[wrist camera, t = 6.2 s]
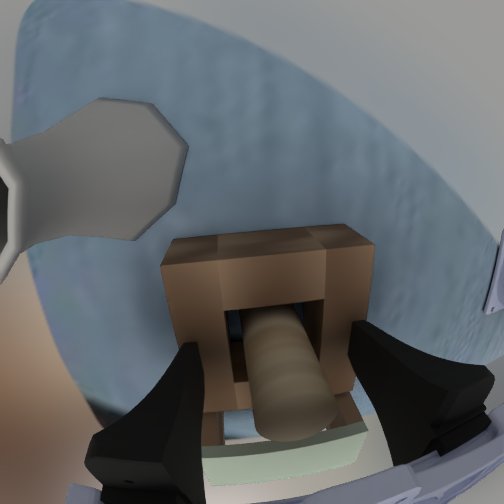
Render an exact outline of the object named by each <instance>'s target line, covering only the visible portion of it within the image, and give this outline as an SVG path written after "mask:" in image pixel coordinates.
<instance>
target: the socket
mask: <svg viewBox="0 0 504 504" xmlns="http://www.w3.org/2000/svg"><path fill="white" fill-rule="evenodd" d="M374 249H375V244H373V243H372V242H370V241H369V240H368V239H366V238H365V237H363V236H362V235H360V234H359V233H357V232H356V231H354V230H353V229H351V228H350V227H348V226H347V225H345V224H336V225H323V226H311V227H299V228H287V229H275V230H264V231H253V232H242V233H231V234H221V235H211V236H201V237H191V238H181V239H173V240H172V242H171V245H170V247H169V249H168V251H167V253H166V255H165V257H164V259H163V261H162V263H161V265H160V267H161V273H162V278H163V283H164V287H165V292H166V297H167V302H168V306H169V311H170V315H171V319H172V323H173V328H174V332H175V336H176V340H177V344H178V348H179V349H180V347H181V346H182V344H183V343H185V342H197V343H198V348H199V353H200V357H201V362H202V366H203V370H204V377H205V398H204V409H203V413H204V412H220V411H233V410H243V409H252V402H251V395H250V388H249V381H248V373H247V366H246V359H245V351H244V344H243V341H240V342H231V341H230V333H229V326H228V318H227V310H237V309H247V308H256V307H265V306H273V305H282V304H290V303H297V302H303V327H304V330H305V332H306V334H307V336H308V338H309V341H310V343H311V345H312V347H313V350H314V352H315V354H316V356H317V359H318V361H319V363H320V365H321V368H322V370H323V372H324V374H325V377H326V379H327V381H328V383H329V386H330V388H331V390H332V392H333V395H335V394H340V393H344V392H348V391H352V390H353V386H354V382H355V377H356V374H355V372H354V370H353V368H352V365H351V363H350V360H349V358H348V355H347V353H348V347H349V340H350V333H351V326H352V322H353V321H358V320H365V321H366V318H367V311H368V304H369V297H370V289H371V280H372V271H373V261H374Z"/></svg>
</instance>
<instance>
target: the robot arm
mask: <svg viewBox="0 0 504 504" xmlns="http://www.w3.org/2000/svg"><path fill="white" fill-rule="evenodd" d="M503 308H504V229H503V231H502V236H501V242H500V248H499V253H498V258H497V263H496V267H495V272H494V276H493V280H492V284H491V288H490V291H489V295H488V298H487V302H486V305H485V308H484V313H485V314H486V315H489V314H492V313H494V312H496V311H499V310H501V309H503ZM347 355H348V358H349V360H350V363H351V365H352V368H353V370H354V372H355V374H356V376H357V378H358V380H359V381H360V383H361V385H362V387H363V388H364V390H365V392H366V394H367V395H368V397H369V399H370V401H371V402H372V404H373V406H374V408H375V410H376V413H377V415H378V418H379V420H380V423H381V425H382V428H383V431H384V434H385V437H386V440H387V443H388V447H389V450H390V454H391V457H392V461H393V466H394V467H392V468H389V469H387V470H384V471H381V472H378V473H376V474H373V475H370V476H367V477H364V478H361V479H358V480H354V481H351V482H348V483H344V484H340V485H337V486H333V487H330V488H327V489H324V490H321V491H318V492H316V493H313V494H310V495H305V496H300V497H295V498H289V499H283V500H277V501H270V502H261V503H252V504H447V503H448V502H450V501H451V500H453V499H455V498H456V497H458V496H459V495H461V494H462V493H464V492H465V491H467V490H468V489H470V488H471V487H472V486H474V485H475V484H476V483H478V482H479V481H480V480H482V479H483V478H485V477H486V476H487V475H488V474H490V473H491V472H492V471H493V470H495V469H496V468H497V467H499V466H500V465H501V464H502V463H504V403H502V404H501V405H499V406H498V407H497V408H495V409H494V410H492V411H491V412H490V413H489V414H488V415H486V414H485V412H484V411H485V410H486V406H485V405H484V404H483V403H484V401H485V399H486V398H487V396H488V394H489V393H490V391H491V389H492V387H493V385H494V381H495V378H494V375H493V374H492V373H491V372H490V371H489V370H488V369H487V368H486V366H484V365H474V364H465V363H459V362H454V361H450V360H446V359H442V358H439V357H436V356H433V355H430V354H427V353H425V352H422V351H420V350H417V349H415V348H413V347H411V346H409V345H407V344H405V343H403V342H401V341H399V340H398V339H396V338H394V337H392V336H391V335H389V334H387V333H386V332H384V331H382V330H381V329H379V328H377V327H376V326H374V325H372V324H371V323H369V322H367V321H365V320H358V321H353V322H352V326H351V333H350V340H349V347H348V353H347ZM204 398H205V377H204V370H203V366H202V362H201V357H200V353H199V348H198V343H197V342H185V343H183V344H182V346H181V347H180V349H179V351H178V353H177V355H176V356H175V358H174V360H173V361H172V363H171V364H170V366H169V367H168V369H167V370H166V372H165V373H164V375H163V376H162V377H161V379H160V380H159V381H158V383H157V384H156V385H155V387H154V388H153V389H152V390H151V391H150V392H149V394H148V395H147V396H146V397H145V398H144V399H143V400H142V401H141V402H140V403H139V404H138V405H137V406H135V407H134V408H133V409H132V410H131V411H130V412H129V413H127V414H126V415H125V416H123V417H122V418H121V419H119V420H118V421H116V422H115V423H113V424H112V425H110V426H108V427H107V428H105V429H103V430H101V431H100V432H98V433H96V434H94V435H93V437H92V439H91V441H90V444H89V447H88V451H87V454H86V457H85V461H84V463H85V466H86V468H87V469H88V470H89V471H90V472H91V473H92V475H93V476H94V477H95V478H96V479H97V480H99V481H100V482H101V483H102V484H103V488H102V491H100V490H98V489H96V488H92V487H88V486H84V485H79V484H75V483H70V485H69V489H68V493H67V497H66V501H65V504H206V499H205V490H204V480H203V467H202V448H201V431H202V420H203V409H204Z"/></svg>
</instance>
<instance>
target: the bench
mask: <svg viewBox="0 0 504 504" xmlns="http://www.w3.org/2000/svg"><path fill="white" fill-rule="evenodd" d="M334 397H335V399H336V402H337V404H338V412H337V415H336V417H335V419H334V420H333V421H332V422H331V423H330V425H328V426H327V427H326V429H327V430H326V431H321V432H319V433H317V434H315V435H313V436H310V437H308V438H305V439H301V440H296V441H289V442H279V441H273V440H271V441H263V442H255V443H246V444H235V445H225V435H224V416H223V411H220V412H204V413H203V420H202V431H201V448H202V467H203V470H204V472H205V473H206V476H207V478H208V480H209V482H210V484H211V486H222V485H238V484H250V483H259V482H266V481H274V480H281V479H287V478H293V477H299V476H304V475H309V474H313V473H318V472H322V471H326V470H331V469H334V468H338V467H342V466H346V465H349V464H352V463H355V461H356V459H357V457H358V455H359V452H360V450H361V448H362V445H363V443H364V441H365V438H366V436H367V433H368V429H367V427H366V425H365V423H364V421H363V419H362V416H361V414H360V412H359V410H358V408H357V406H356V404H355V402H354V400H353V398H352V396H351V394H350V392H349V391H348V392H344V393H340V394H335V395H334Z"/></svg>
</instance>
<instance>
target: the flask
mask: <svg viewBox="0 0 504 504" xmlns="http://www.w3.org/2000/svg"><path fill="white" fill-rule="evenodd" d="M187 150H188V145H187V144H186V143H185V142H184V140H183V139H182V138H181V137H180V136H179V135H178V133H177V132H176V131H175V130H174V129H173V128H172V127H171V125H170V124H169V123H168V122H167V121H166V120H165V118H164V117H163V116H162V115H161V114H160V113H159V112H158V110H157V109H156V108H155V107H154V106H153V105H152V104H150V103H143V102H136V101H127V100H119V99H108V98H98V99H96V100H94V101H93V102H91V103H89V104H88V105H86V106H85V107H83V108H82V109H80V110H79V111H77V112H75V113H74V114H72V115H70V116H69V117H67V118H65V119H64V120H62V121H60V122H59V123H57V124H55V125H54V126H52V127H50V128H49V129H47V130H46V131H44V132H42V133H39V134H36V135H33V136H31V137H28V138H25V139H22V140H19V141H17V142H14V143H11V144H6V143H5V142H4V140H3V139H1V138H0V284H1V283H2V282H3V281H4V280H5V278H6V277H7V275H8V273H9V271H10V270H11V268H12V266H13V264H14V263H15V261H16V259H17V258H18V256H19V254H20V253H22V252H24V251H25V250H27V249H28V248H30V247H32V246H33V245H35V244H37V243H41V242H45V241H49V240H52V239H56V238H60V237H64V236H69V235H70V236H89V237H106V238H113V239H121V240H129V241H136V240H137V239H138V238H139V237H140V236H141V235H142V234H143V233H144V232H145V231H146V230H147V229H148V228H149V227H150V226H151V225H153V224H154V223H155V222H156V221H157V220H158V219H159V218H160V217H161V216H162V215H163V214H165V213H166V212H167V211H168V210H169V209H170V208H171V207H172V206H174V205H175V203H176V198H177V193H178V188H179V184H180V179H181V175H182V170H183V166H184V162H185V158H186V154H187Z"/></svg>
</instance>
